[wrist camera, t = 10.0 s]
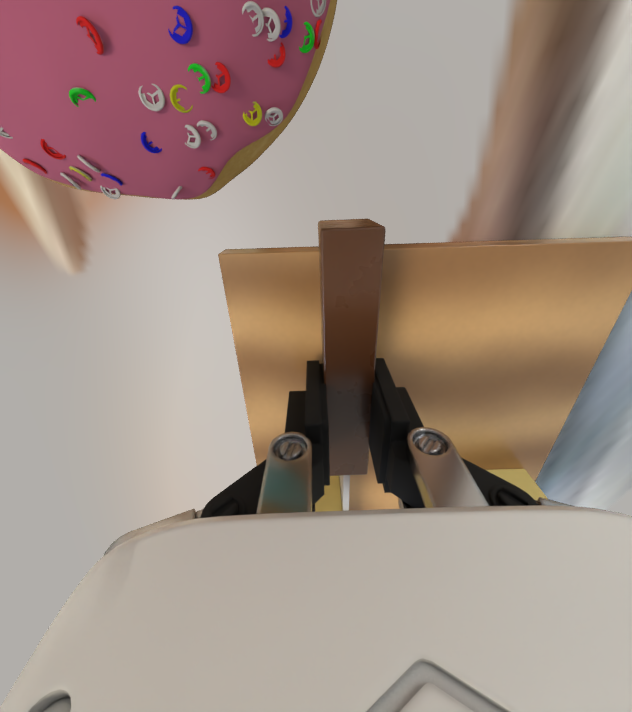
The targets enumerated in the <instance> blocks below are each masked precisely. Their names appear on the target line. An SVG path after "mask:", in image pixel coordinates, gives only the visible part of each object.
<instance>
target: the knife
mask: <svg viewBox="0 0 632 712" xmlns="http://www.w3.org/2000/svg"><path fill="white" fill-rule="evenodd" d="M318 232H319V233H318V234H319V267H320V301H321V334H322V363H323V375H324V384H325V385H326V394H327V408H328V422H329V464H330V476H339V478H340V489H341V499H342V509H343V511H349V492H350V475H366V474H367V473H368V461H369V429H370V415H371V401H372V386H373V383H374V379H375V365H376V352H377V338H378V324H379V311H380V297H381V283H382V269H383V256H384V241H385V227H384V226H382V225H380V224H378V223H375V222H374V221H372V220H370V219H351V220H328V221H326V220H325V221H319V223H318Z"/></svg>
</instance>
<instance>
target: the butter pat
mask: <svg viewBox="0 0 632 712" xmlns="http://www.w3.org/2000/svg"><path fill="white" fill-rule="evenodd" d="M315 505H316V512H323V511H343V509H342V499H341V489H340V478H339V476H330V485H328V486H324V495H323V496H322V497H321V498H320V499H319V500H318V501H317V502H316V503H315Z"/></svg>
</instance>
